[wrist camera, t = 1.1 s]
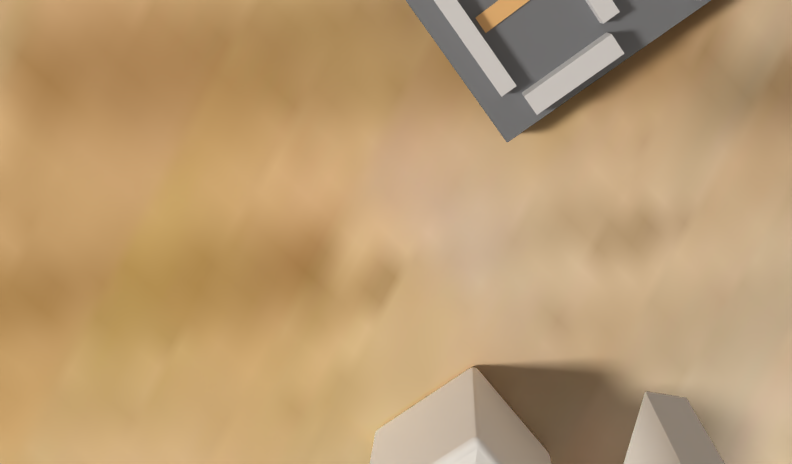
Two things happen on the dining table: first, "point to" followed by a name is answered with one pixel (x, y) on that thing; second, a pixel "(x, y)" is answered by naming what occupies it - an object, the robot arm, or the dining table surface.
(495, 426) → the medicine bottle
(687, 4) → the grey compartment tray
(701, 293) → the dining table surface
